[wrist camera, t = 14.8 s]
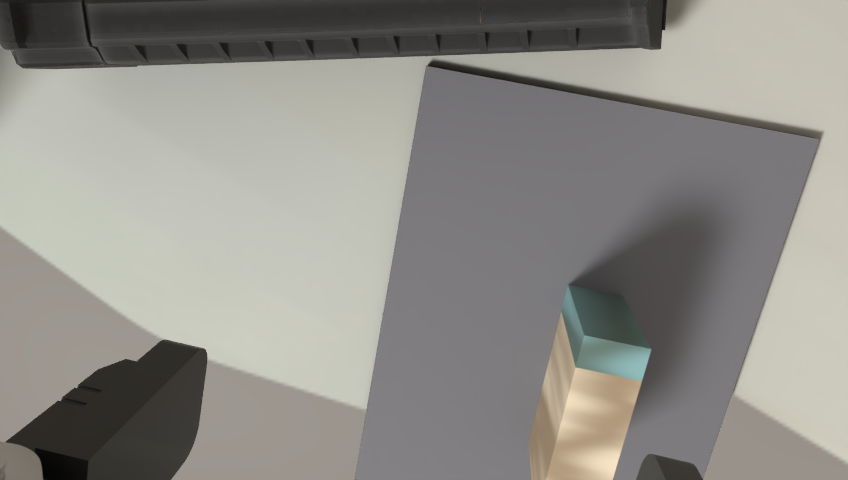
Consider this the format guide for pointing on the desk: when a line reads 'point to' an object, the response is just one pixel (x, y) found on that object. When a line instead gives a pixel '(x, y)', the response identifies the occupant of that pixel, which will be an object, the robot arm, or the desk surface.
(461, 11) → the magazine
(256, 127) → the desk surface
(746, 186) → the mat
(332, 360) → the desk surface
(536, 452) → the tile
